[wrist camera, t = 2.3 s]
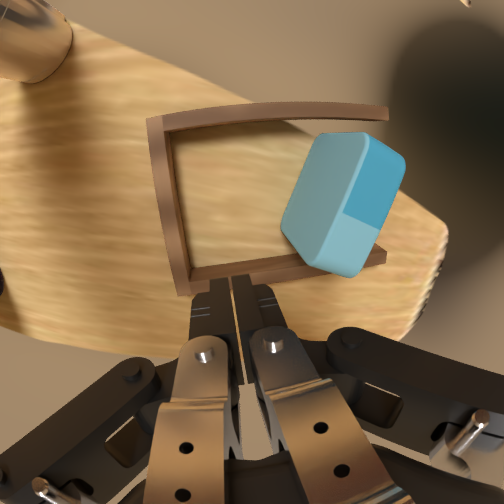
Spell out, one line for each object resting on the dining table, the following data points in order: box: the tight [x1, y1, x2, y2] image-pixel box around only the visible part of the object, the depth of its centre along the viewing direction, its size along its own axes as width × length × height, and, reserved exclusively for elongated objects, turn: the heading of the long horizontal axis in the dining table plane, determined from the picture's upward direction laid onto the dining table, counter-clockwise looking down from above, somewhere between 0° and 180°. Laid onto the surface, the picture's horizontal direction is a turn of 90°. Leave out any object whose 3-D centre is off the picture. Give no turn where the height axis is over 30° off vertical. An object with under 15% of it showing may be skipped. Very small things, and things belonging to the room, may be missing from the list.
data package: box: [281, 132, 405, 278], centre depth 26 cm, size 12×4×12 cm, turn 159°
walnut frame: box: [146, 102, 389, 296], centre depth 29 cm, size 19×26×4 cm
